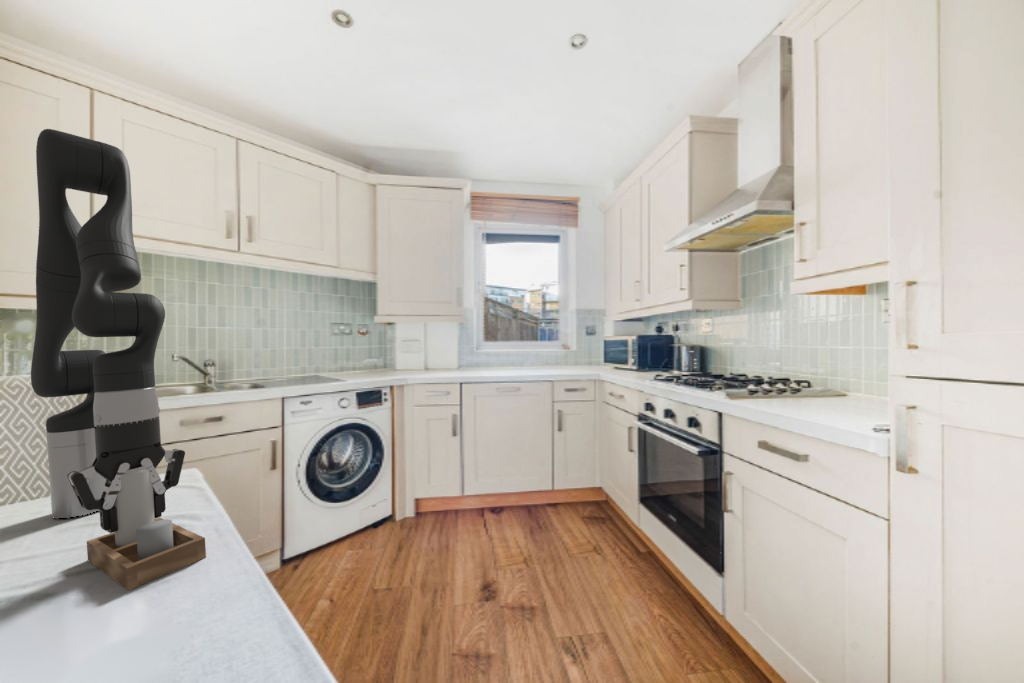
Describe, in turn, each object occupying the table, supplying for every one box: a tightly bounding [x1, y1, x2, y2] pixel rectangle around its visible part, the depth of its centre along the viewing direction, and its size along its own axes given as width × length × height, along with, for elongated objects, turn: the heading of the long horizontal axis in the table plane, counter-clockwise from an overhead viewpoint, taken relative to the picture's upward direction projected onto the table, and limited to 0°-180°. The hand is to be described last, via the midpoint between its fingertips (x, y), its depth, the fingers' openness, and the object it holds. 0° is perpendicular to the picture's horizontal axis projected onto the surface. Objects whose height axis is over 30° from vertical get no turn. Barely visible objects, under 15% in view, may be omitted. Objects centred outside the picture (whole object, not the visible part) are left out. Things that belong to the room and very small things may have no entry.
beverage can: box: [111, 466, 156, 547], centre depth 64 cm, size 5×5×12 cm
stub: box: [136, 518, 174, 561], centre depth 60 cm, size 4×4×6 cm
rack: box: [86, 517, 207, 591], centre depth 62 cm, size 17×9×3 cm, turn 59°
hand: (134, 523), depth 64 cm, fingers closed on beverage can, 4 cm apart
